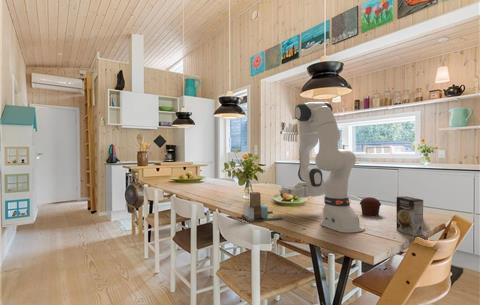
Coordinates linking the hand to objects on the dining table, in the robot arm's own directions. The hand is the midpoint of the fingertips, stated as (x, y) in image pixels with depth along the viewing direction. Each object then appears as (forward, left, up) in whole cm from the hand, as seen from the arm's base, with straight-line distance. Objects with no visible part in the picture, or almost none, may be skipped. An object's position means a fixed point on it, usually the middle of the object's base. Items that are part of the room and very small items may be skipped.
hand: (280, 191), depth 160 cm
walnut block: (-2, +16, -13) cm, 21 cm away
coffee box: (-47, -45, -14) cm, 67 cm away
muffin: (-14, -51, -14) cm, 55 cm away
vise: (-1, +13, -14) cm, 19 cm away
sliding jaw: (-2, +12, -13) cm, 18 cm away
